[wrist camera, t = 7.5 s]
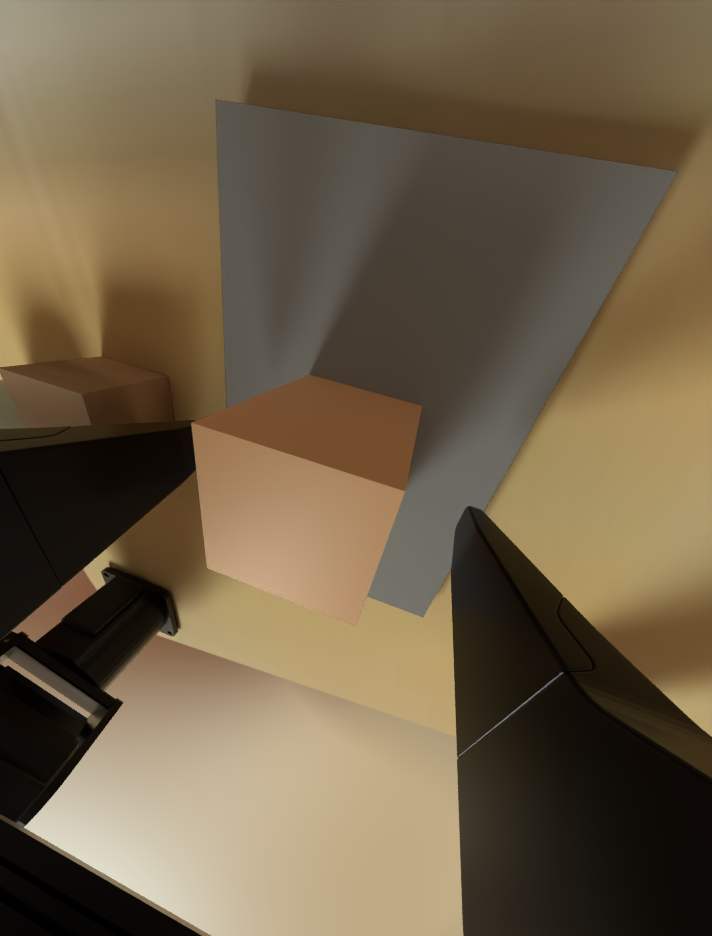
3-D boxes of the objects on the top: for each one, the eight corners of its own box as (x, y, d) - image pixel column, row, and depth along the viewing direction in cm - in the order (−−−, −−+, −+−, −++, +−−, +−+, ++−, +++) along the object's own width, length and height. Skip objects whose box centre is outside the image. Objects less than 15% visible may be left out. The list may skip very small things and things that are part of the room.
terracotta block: (389, 501, 12) (356, 626, 7) (298, 471, 13) (206, 567, 8) (422, 405, 10) (404, 491, 5) (309, 374, 11) (191, 422, 6)
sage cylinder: (100, 446, 18) (18, 477, 14) (49, 429, 18) (-42, 454, 15) (81, 384, 16) (-20, 402, 12) (24, 366, 16) (-88, 378, 13)
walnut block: (179, 446, 16) (108, 481, 12) (121, 427, 16) (37, 455, 13) (169, 376, 14) (81, 394, 10) (103, 356, 14) (-3, 367, 11)
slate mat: (423, 601, 16) (422, 617, 15) (241, 534, 18) (231, 544, 17) (649, 189, 7) (677, 171, 6) (237, 121, 9) (215, 99, 8)
